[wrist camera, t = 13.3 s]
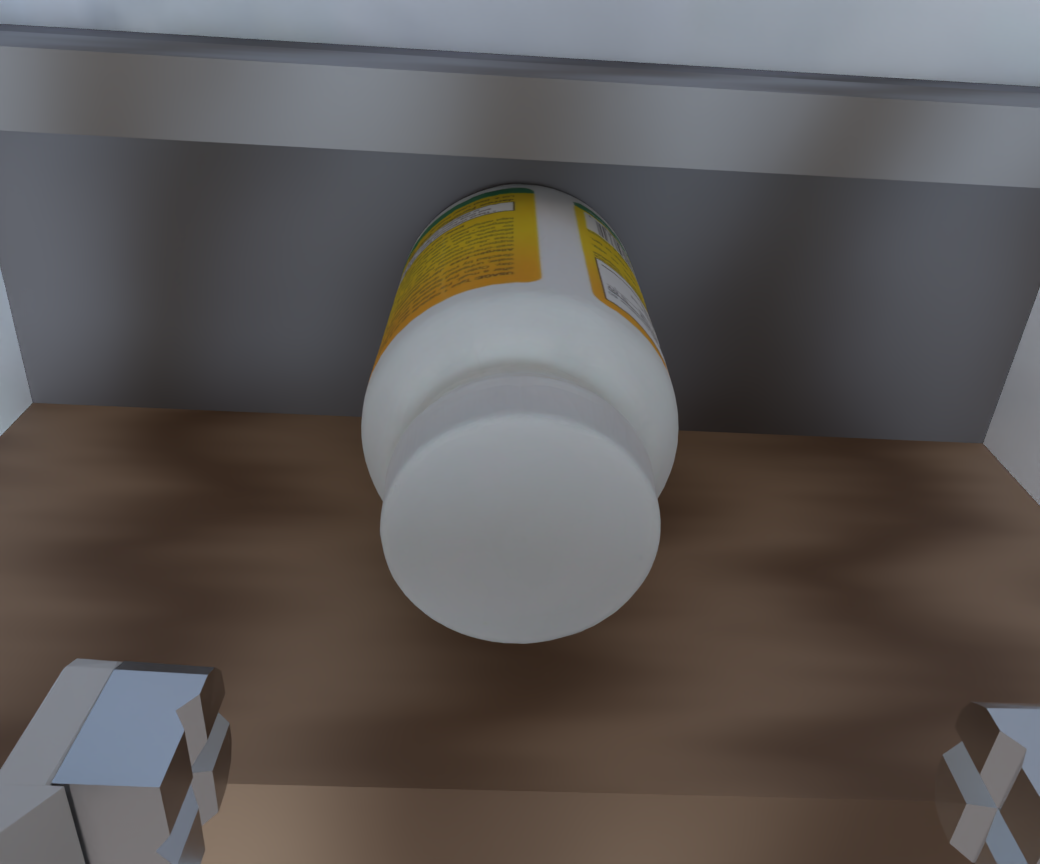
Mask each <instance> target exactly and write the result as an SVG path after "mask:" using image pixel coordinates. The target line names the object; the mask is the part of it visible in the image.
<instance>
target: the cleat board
mask: <svg viewBox="0 0 1040 864" xmlns="http://www.w3.org/2000/svg"><path fill="white" fill-rule="evenodd" d="M508 184H528V185H538V186H543V187H548V188H552V189H555V190H558V191H561V192H564V193H566V194H568V195H570V196H572V197H574V198H576V199H578V200H580V201H582V202H583V203H585V204H586V205H588V206H589V207H590V208H592V209H593V210H594V211H596V212H597V213H598V214H599V215H600V216H601V217H602V218H603V219H604V220H605V221H606V222H607V223H608V224H609V225H610V227H611V228H612V229H613V231H614V232H615V233H616V235H617V236H618V238H619V239H620V241H621V243H622V244H623V246H624V248H625V251H626V253H627V255H628V257H629V260H630V262H631V265H632V267H633V270H634V273H635V276H636V278H637V281H638V284H639V287H640V290H641V293H642V295H643V298H644V302H645V305H646V308H647V311H648V314H649V317H650V320H651V322H652V325H653V328H654V330H655V333H656V336H657V339H658V342H659V345H660V349H661V351H662V354H663V357H664V359H665V363H666V366H667V369H668V372H669V376H670V379H671V382H672V386H673V389H674V393H675V398H676V404H677V410H678V427H679V429H678V444H677V450H676V454H675V459H674V463H673V466H672V470H671V472H670V475H669V477H668V479H667V482H666V484H665V487H664V489H663V490H662V492H661V494H660V495H659V497H658V504H659V510H660V520H661V525H660V541H659V546H658V551H657V554H656V557H655V560H654V562H653V565H652V567H651V570H650V572H649V574H648V575H647V577H646V579H645V580H644V582H643V583H642V584H641V586H640V587H639V589H638V590H637V591H636V592H635V593H634V594H633V596H632V597H631V598H630V599H629V600H628V601H627V602H626V603H625V604H624V605H623V606H622V607H621V608H620V609H619V610H617V611H616V612H615V613H614V614H612V615H610V616H609V617H607V618H606V619H604V620H603V621H601V622H600V623H598V624H596V625H595V626H593V627H590V628H588V629H585V630H584V631H582V632H579V633H576V634H573V635H569V636H566V637H562V638H558V639H554V640H550V641H544V642H537V643H528V644H519V643H501V642H491V641H487V640H482V639H477V638H474V637H470V636H467V635H464V634H461V633H459V632H456V631H454V630H452V629H450V628H447V627H446V626H444V625H442V624H440V623H438V622H437V621H435V620H433V619H432V618H430V617H429V616H428V615H426V614H425V613H424V612H423V611H421V610H420V609H419V608H418V607H417V606H415V605H414V604H413V603H412V602H411V601H410V599H409V598H408V597H407V596H406V595H405V594H404V593H403V591H402V590H401V589H400V587H399V586H398V584H397V583H396V581H395V580H394V578H393V576H392V574H391V572H390V570H389V567H388V565H387V562H386V559H385V556H384V552H383V547H382V541H381V536H380V520H381V510H382V504H383V501H382V499H381V497H380V496H379V494H378V492H377V490H376V488H375V486H374V484H373V481H372V479H371V477H370V474H369V471H368V468H367V464H366V461H365V456H364V451H363V446H362V436H361V422H362V411H363V404H364V398H365V394H366V390H367V386H368V382H369V378H370V375H371V372H372V369H373V366H374V363H375V360H376V357H377V355H378V352H379V348H380V345H381V342H382V338H383V335H384V332H385V329H386V326H387V323H388V319H389V316H390V312H391V309H392V306H393V303H394V299H395V296H396V293H397V290H398V287H399V283H400V280H401V276H402V273H403V269H404V266H405V264H406V262H407V259H408V256H409V254H410V252H411V250H412V248H413V246H414V244H415V243H416V241H417V239H418V237H419V236H420V235H421V233H422V232H423V231H424V229H425V228H426V227H427V226H428V225H429V224H430V223H431V222H432V221H433V220H434V219H435V218H436V217H437V216H438V215H439V214H440V213H441V212H443V211H444V210H445V209H447V208H448V207H450V206H451V205H453V204H454V203H456V202H458V201H459V200H461V199H463V198H466V197H468V196H470V195H472V194H475V193H477V192H480V191H483V190H486V189H489V188H493V187H497V186H500V185H508ZM0 267H1V271H2V275H3V279H4V283H5V288H6V292H7V296H8V300H9V304H10V309H11V313H12V317H13V321H14V325H15V330H16V334H17V338H18V342H19V346H20V351H21V355H22V359H23V363H24V368H25V372H26V376H27V380H28V384H29V389H30V393H31V397H32V401H33V403H32V404H31V405H30V406H29V407H28V409H27V410H26V411H25V412H24V413H23V414H22V415H21V416H20V417H19V418H18V419H17V420H16V421H15V422H14V423H13V424H12V425H11V426H10V427H9V428H8V429H7V430H6V431H5V432H4V433H3V434H2V435H1V436H0V769H1V768H2V766H3V764H4V763H5V761H6V760H7V758H8V756H9V755H10V753H11V752H12V750H13V748H14V747H15V745H16V744H17V742H18V740H19V739H20V737H21V736H22V734H23V732H24V731H25V729H26V728H27V726H28V724H29V723H30V721H31V720H32V718H33V717H34V715H35V713H36V712H37V710H38V709H39V707H40V705H41V704H42V702H43V701H44V699H45V697H46V696H47V694H48V693H49V691H50V689H51V688H52V686H53V685H54V683H55V681H56V680H57V678H58V677H59V675H60V673H61V672H62V670H63V669H64V668H65V667H66V666H67V665H69V664H70V663H71V662H73V661H74V660H75V659H77V658H79V659H92V660H106V661H119V662H123V661H134V662H148V663H162V664H176V665H190V666H204V667H215V668H217V669H219V670H221V671H222V677H223V682H224V688H225V696H224V698H223V701H222V704H221V706H220V709H219V713H220V714H221V715H222V716H223V717H224V718H225V719H226V720H227V721H228V722H229V723H230V730H231V738H232V750H231V765H230V770H229V776H228V782H227V787H226V791H225V794H224V797H223V800H222V803H221V806H220V809H219V812H218V813H217V814H216V815H215V816H213V817H212V818H211V819H210V820H209V821H207V822H206V823H205V824H204V825H203V826H202V831H203V838H204V844H205V853H204V855H203V858H202V861H201V864H972V862H971V861H970V860H969V859H967V858H966V857H965V856H964V855H963V854H962V853H960V852H959V851H958V850H957V849H956V848H955V847H953V846H952V845H951V844H950V843H949V841H948V839H947V837H946V834H945V832H944V830H943V828H942V825H941V823H940V820H939V816H938V812H937V808H936V804H935V774H936V772H937V769H938V766H939V763H940V760H941V758H942V755H943V754H944V753H946V752H947V751H949V750H950V749H952V748H953V747H954V746H956V745H957V744H959V743H960V742H961V741H962V740H961V738H960V736H959V734H958V732H957V731H956V729H955V727H954V726H955V724H956V721H957V719H958V717H959V714H960V712H961V710H962V709H963V708H964V707H966V706H967V705H968V704H969V703H970V702H998V703H1025V704H1040V506H1039V505H1038V504H1037V502H1036V501H1035V500H1034V499H1033V498H1032V497H1031V496H1030V495H1029V494H1028V493H1027V491H1026V490H1025V489H1024V488H1023V487H1022V486H1021V485H1020V484H1019V483H1018V482H1017V480H1016V479H1015V478H1014V477H1013V476H1012V475H1011V474H1010V473H1009V472H1008V471H1007V470H1006V468H1005V467H1004V466H1003V465H1002V464H1001V463H1000V462H999V461H998V460H997V459H996V457H995V456H994V455H993V454H992V453H991V452H990V451H989V450H988V449H987V448H986V446H985V445H984V444H983V441H984V439H985V436H986V433H987V430H988V428H989V425H990V422H991V419H992V417H993V414H994V411H995V408H996V406H997V403H998V400H999V397H1000V395H1001V392H1002V389H1003V386H1004V384H1005V381H1006V378H1007V375H1008V373H1009V370H1010V367H1011V364H1012V362H1013V359H1014V356H1015V353H1016V351H1017V348H1018V345H1019V342H1020V340H1021V337H1022V334H1023V331H1024V329H1025V326H1026V323H1027V320H1028V318H1029V315H1030V312H1031V309H1032V307H1033V304H1034V301H1035V298H1036V296H1037V293H1038V290H1039V287H1040V87H1031V86H1015V85H998V84H982V83H965V82H949V81H932V80H916V79H899V78H883V77H866V76H850V75H833V74H817V73H800V72H784V71H767V70H751V69H734V68H718V67H701V66H685V65H668V64H652V63H635V62H619V61H602V60H586V59H569V58H553V57H536V56H520V55H503V54H487V53H470V52H454V51H437V50H421V49H404V48H388V47H371V46H355V45H338V44H322V43H305V42H289V41H272V40H256V39H239V38H223V37H206V36H190V35H173V34H156V33H140V32H123V31H107V30H90V29H74V28H57V27H41V26H24V25H8V24H0Z"/></svg>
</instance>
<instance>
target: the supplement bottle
mask: <svg viewBox="0 0 1040 864" xmlns="http://www.w3.org/2000/svg"><path fill="white" fill-rule="evenodd" d="M678 429H679V427H678V410H677V404H676V398H675V393H674V389H673V386H672V382H671V379H670V376H669V372H668V369H667V366H666V363H665V359H664V357H663V354H662V351H661V349H660V345H659V342H658V339H657V336H656V333H655V330H654V328H653V325H652V322H651V320H650V317H649V314H648V311H647V308H646V305H645V302H644V298H643V295H642V293H641V290H640V287H639V284H638V281H637V278H636V276H635V273H634V270H633V267H632V265H631V262H630V260H629V257H628V255H627V253H626V251H625V248H624V246H623V244H622V243H621V241H620V239H619V238H618V236H617V235H616V233H615V232H614V231H613V229H612V228H611V227H610V225H609V224H608V223H607V222H606V221H605V220H604V219H603V218H602V217H601V216H600V215H599V214H598V213H597V212H596V211H594V210H593V209H592V208H590V207H589V206H588V205H586V204H585V203H583V202H582V201H580V200H578V199H576V198H574V197H572V196H570V195H568V194H566V193H564V192H561V191H558V190H555V189H552V188H548V187H543V186H538V185H528V184H508V185H500V186H497V187H493V188H489V189H486V190H483V191H480V192H477V193H475V194H472V195H470V196H468V197H466V198H463V199H461V200H459V201H458V202H456V203H454V204H453V205H451V206H450V207H448V208H447V209H445V210H444V211H443V212H441V213H440V214H439V215H438V216H437V217H436V218H435V219H434V220H433V221H432V222H431V223H430V224H429V225H428V226H427V227H426V228H425V229H424V231H423V232H422V233H421V235H420V236H419V237H418V239H417V241H416V243H415V244H414V246H413V248H412V250H411V252H410V254H409V256H408V259H407V262H406V264H405V266H404V269H403V273H402V276H401V280H400V283H399V287H398V290H397V293H396V296H395V299H394V303H393V306H392V309H391V312H390V316H389V319H388V323H387V326H386V329H385V332H384V335H383V338H382V342H381V345H380V348H379V352H378V355H377V357H376V360H375V363H374V366H373V369H372V372H371V375H370V378H369V382H368V386H367V390H366V394H365V398H364V404H363V411H362V422H361V436H362V446H363V451H364V456H365V461H366V464H367V468H368V471H369V474H370V477H371V479H372V481H373V484H374V486H375V488H376V490H377V492H378V494H379V496H380V497H381V499H382V501H383V504H382V510H381V520H380V536H381V541H382V547H383V552H384V556H385V559H386V562H387V565H388V567H389V570H390V572H391V574H392V576H393V578H394V580H395V581H396V583H397V584H398V586H399V587H400V589H401V590H402V591H403V593H404V594H405V595H406V596H407V597H408V598H409V599H410V601H411V602H412V603H413V604H414V605H415V606H417V607H418V608H419V609H420V610H421V611H423V612H424V613H425V614H426V615H428V616H429V617H430V618H432V619H433V620H435V621H437V622H438V623H440V624H442V625H444V626H446V627H447V628H450V629H452V630H454V631H456V632H459V633H461V634H464V635H467V636H470V637H474V638H477V639H482V640H487V641H491V642H501V643H519V644H528V643H537V642H544V641H550V640H554V639H558V638H562V637H566V636H569V635H573V634H576V633H579V632H582V631H584V630H585V629H588V628H590V627H593V626H595V625H596V624H598V623H600V622H601V621H603V620H604V619H606V618H607V617H609V616H610V615H612V614H614V613H615V612H616V611H617V610H619V609H620V608H621V607H622V606H623V605H624V604H625V603H626V602H627V601H628V600H629V599H630V598H631V597H632V596H633V594H634V593H635V592H636V591H637V590H638V589H639V587H640V586H641V584H642V583H643V582H644V580H645V579H646V577H647V575H648V574H649V572H650V570H651V567H652V565H653V562H654V560H655V557H656V554H657V551H658V546H659V541H660V525H661V520H660V510H659V504H658V497H659V495H660V494H661V492H662V490H663V489H664V487H665V484H666V482H667V479H668V477H669V475H670V472H671V470H672V466H673V463H674V459H675V454H676V450H677V444H678Z"/></svg>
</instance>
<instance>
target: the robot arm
mask: <svg viewBox="0 0 1040 864" xmlns="http://www.w3.org/2000/svg"><path fill="white" fill-rule="evenodd" d="M224 696H225V688H224V682H223V677H222V671H221V670H219V669H217V668H215V667H204V666H190V665H176V664H162V663H148V662H134V661H123V662H119V661H106V660H92V659H79V658H77V659H75V660H74V661H73V662H71V663H70V664H69V665H67V666H66V667H65V668H64V669H63V670H62V672H61V673H60V675H59V677H58V678H57V680H56V681H55V683H54V685H53V686H52V688H51V689H50V691H49V693H48V694H47V696H46V697H45V699H44V701H43V702H42V704H41V705H40V707H39V709H38V710H37V712H36V713H35V715H34V717H33V718H32V720H31V721H30V723H29V724H28V726H27V728H26V729H25V731H24V732H23V734H22V736H21V737H20V739H19V740H18V742H17V744H16V745H15V747H14V748H13V750H12V752H11V753H10V755H9V756H8V758H7V760H6V761H5V763H4V764H3V766H2V768H1V769H0V864H201V861H202V858H203V855H204V853H205V844H204V838H203V831H202V826H203V825H204V824H205V823H206V822H207V821H209V820H210V819H211V818H212V817H213V816H215V815H216V814H217V813H218V812H219V809H220V806H221V803H222V800H223V797H224V794H225V791H226V787H227V782H228V776H229V770H230V765H231V750H232V738H231V730H230V723H229V722H228V721H227V720H226V719H225V718H224V717H223V716H222V715H221V714H220V713H219V709H220V706H221V704H222V701H223V698H224ZM954 727H955V729H956V731H957V732H958V734H959V736H960V738H961V740H962V741H961V742H960V743H959V744H957V745H956V746H954V747H953V748H952V749H950V750H949V751H947V752H946V753H944V754H943V755H942V758H941V760H940V763H939V766H938V769H937V772H936V774H935V804H936V808H937V812H938V816H939V820H940V823H941V825H942V828H943V830H944V832H945V834H946V837H947V839H948V841H949V843H950V844H951V845H952V846H953V847H955V848H956V849H957V850H958V851H959V852H960V853H962V854H963V855H964V856H965V857H966V858H967V859H969V860H970V861H971V862H972V864H1040V704H1025V703H998V702H970V703H969V704H968V705H967V706H966V707H964V708H963V709H962V710H961V712H960V714H959V717H958V719H957V721H956V724H955V726H954Z"/></svg>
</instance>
